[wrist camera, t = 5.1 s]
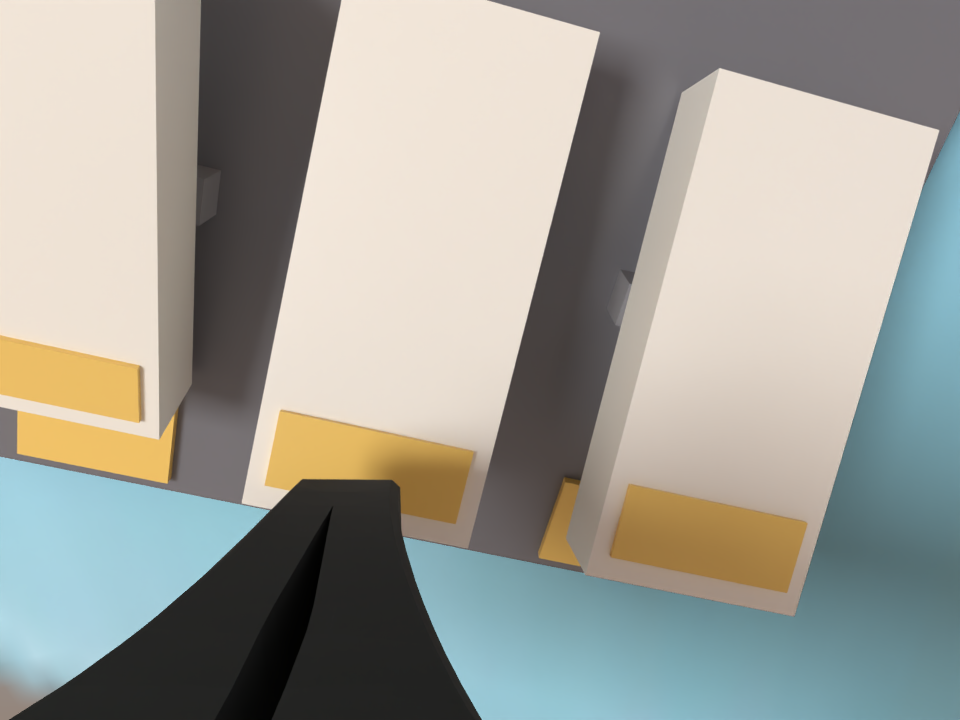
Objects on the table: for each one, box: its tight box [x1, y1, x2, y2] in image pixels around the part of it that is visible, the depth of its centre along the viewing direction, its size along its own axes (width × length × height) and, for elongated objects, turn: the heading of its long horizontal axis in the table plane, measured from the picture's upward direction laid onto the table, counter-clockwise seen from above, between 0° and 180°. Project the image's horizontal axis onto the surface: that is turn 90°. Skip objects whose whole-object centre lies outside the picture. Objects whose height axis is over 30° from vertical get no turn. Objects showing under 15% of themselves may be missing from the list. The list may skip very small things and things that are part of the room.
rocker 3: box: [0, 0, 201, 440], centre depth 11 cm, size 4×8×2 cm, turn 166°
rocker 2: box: [242, 0, 600, 549], centre depth 12 cm, size 4×8×2 cm, turn 166°
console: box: [0, 0, 960, 573], centre depth 14 cm, size 17×13×2 cm
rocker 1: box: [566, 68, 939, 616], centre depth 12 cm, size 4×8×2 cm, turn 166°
